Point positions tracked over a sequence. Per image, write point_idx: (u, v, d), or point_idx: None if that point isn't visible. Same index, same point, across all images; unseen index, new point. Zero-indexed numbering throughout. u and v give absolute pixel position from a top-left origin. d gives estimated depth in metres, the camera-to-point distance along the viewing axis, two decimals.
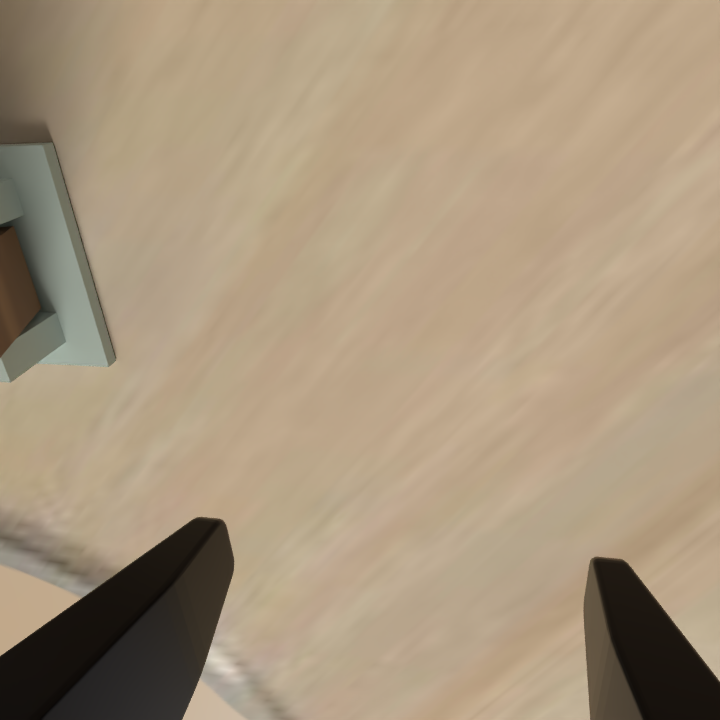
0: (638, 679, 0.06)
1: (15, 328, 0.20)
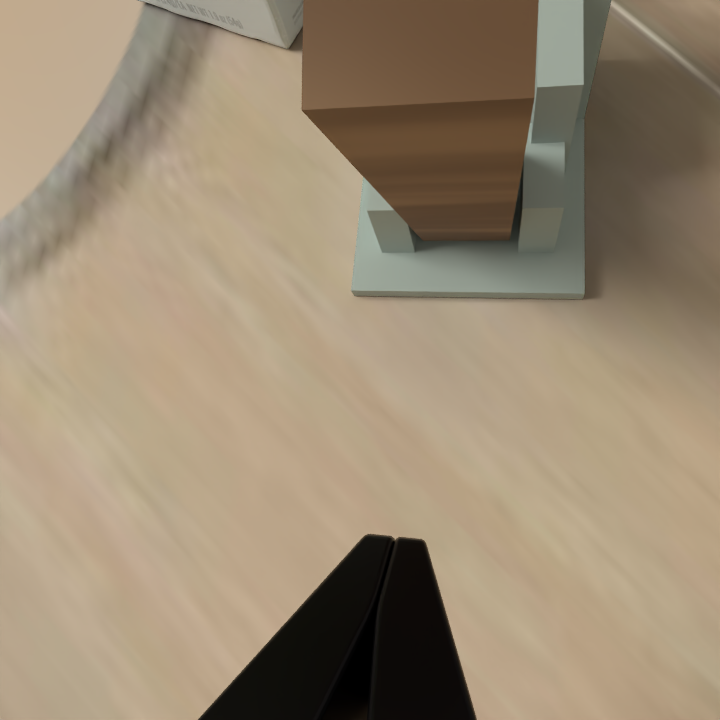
0: (381, 643, 0.06)
1: (421, 231, 0.19)
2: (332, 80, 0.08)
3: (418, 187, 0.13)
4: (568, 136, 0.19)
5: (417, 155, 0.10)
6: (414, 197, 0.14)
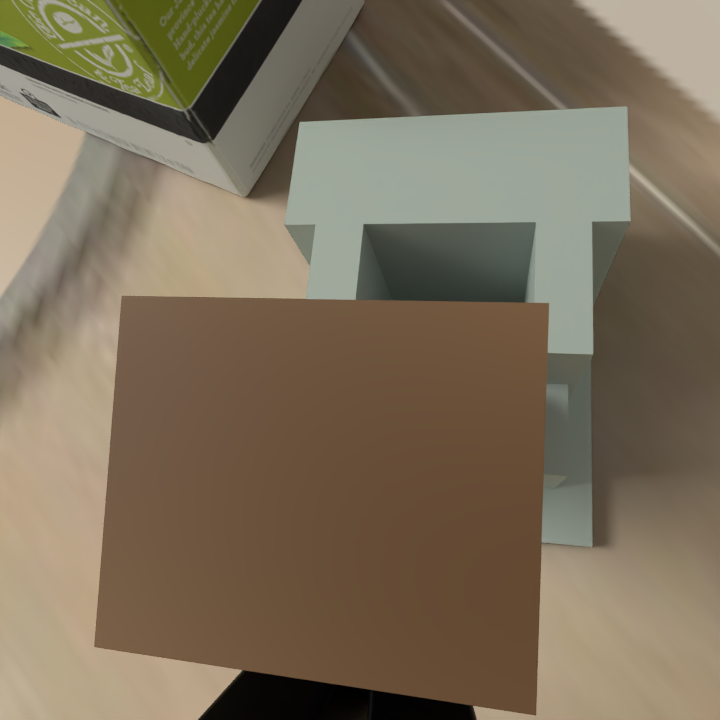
0: None
1: None
2: (152, 602, 0.04)
3: None
4: (572, 381, 0.15)
5: None
6: None
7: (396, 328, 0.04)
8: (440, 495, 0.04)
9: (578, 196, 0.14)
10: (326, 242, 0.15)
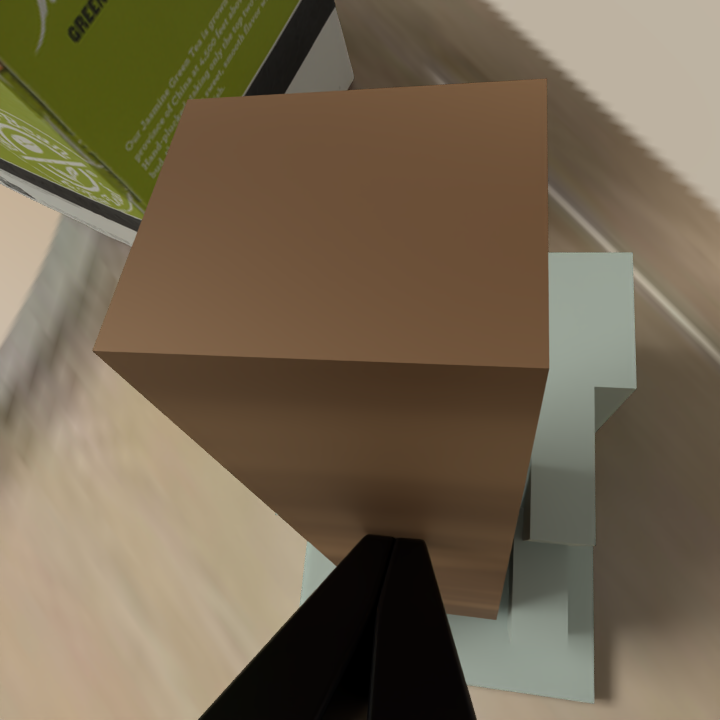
0: (381, 643, 0.06)
1: None
2: (163, 308, 0.04)
3: (356, 532, 0.08)
4: (572, 545, 0.14)
5: (341, 478, 0.06)
6: None
7: (419, 101, 0.05)
8: (453, 204, 0.04)
9: (579, 356, 0.13)
10: None
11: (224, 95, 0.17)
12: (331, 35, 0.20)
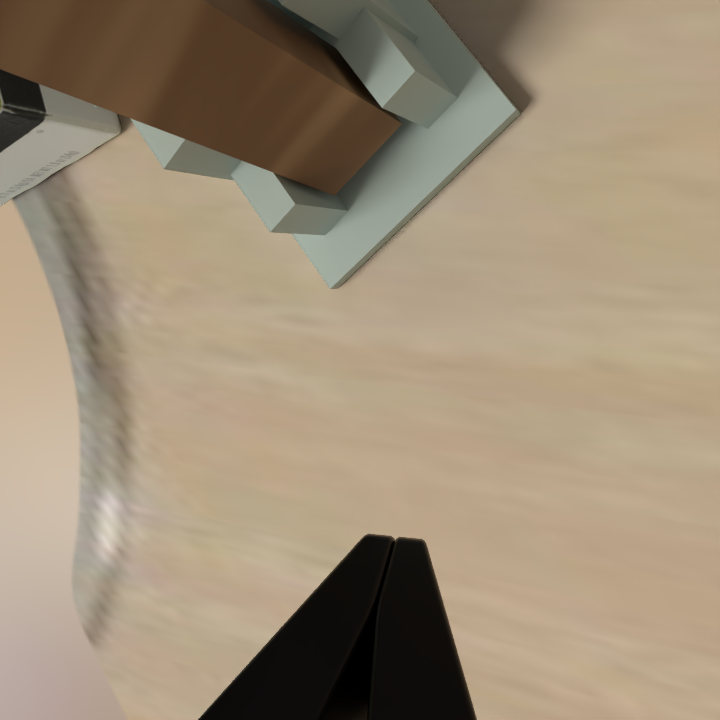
0: (381, 643, 0.06)
1: (287, 169, 0.17)
2: None
3: (70, 48, 0.12)
4: (361, 1, 0.15)
5: None
6: (116, 79, 0.12)
7: None
8: None
9: None
10: None
11: None
12: None
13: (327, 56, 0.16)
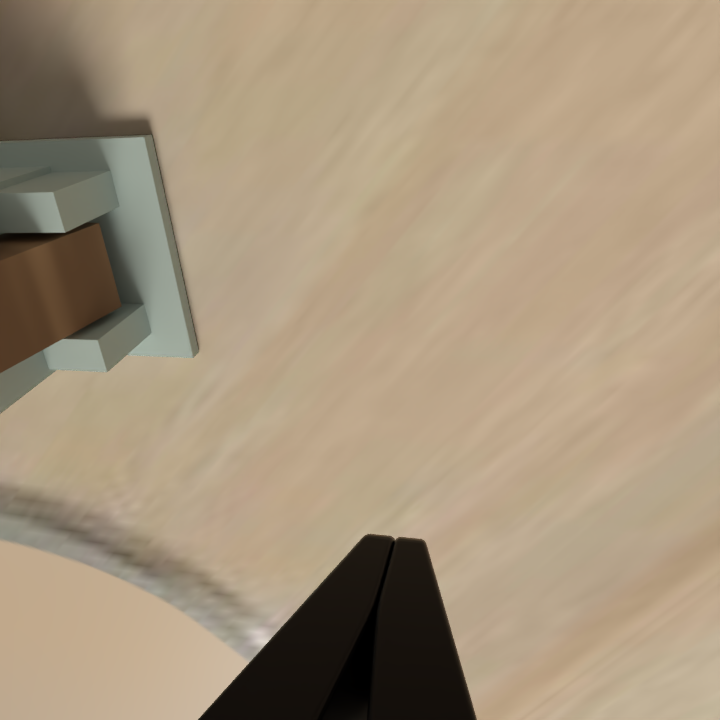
0: (381, 643, 0.06)
1: (67, 327, 0.20)
2: None
3: None
4: None
5: None
6: None
7: None
8: None
9: None
10: None
11: None
12: None
13: (6, 242, 0.19)
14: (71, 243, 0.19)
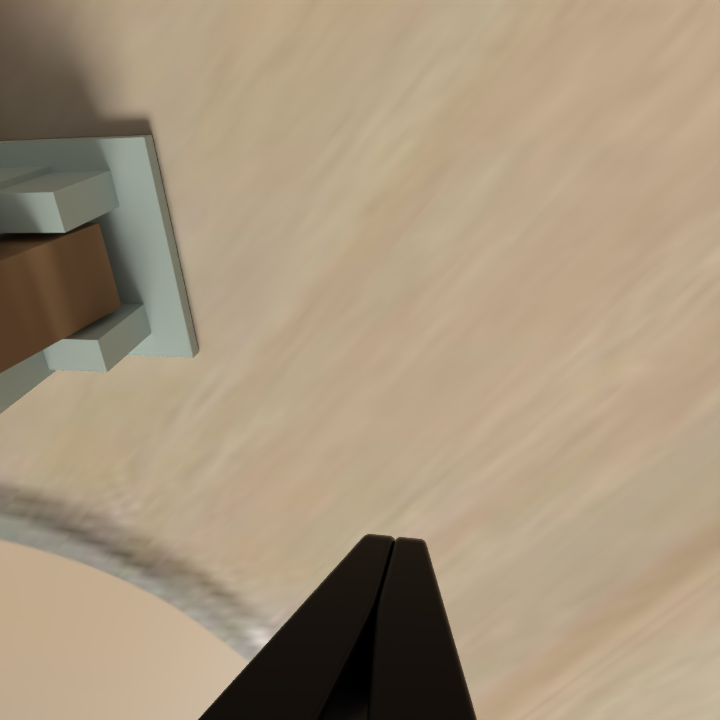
0: (381, 643, 0.06)
1: (67, 327, 0.20)
2: None
3: None
4: None
5: None
6: None
7: None
8: None
9: None
10: None
11: None
12: None
13: (6, 243, 0.19)
14: (71, 243, 0.19)
